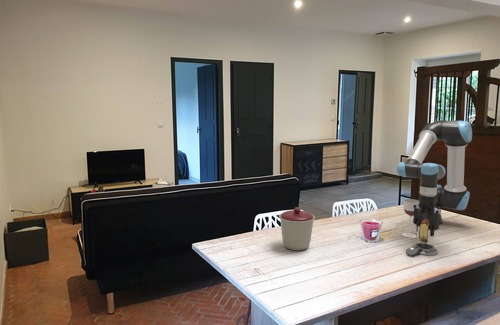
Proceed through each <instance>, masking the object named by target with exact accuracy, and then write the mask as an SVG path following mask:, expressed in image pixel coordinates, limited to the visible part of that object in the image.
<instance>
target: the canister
mask: <svg viewBox="0 0 500 325" xmlns="http://www.w3.org/2000/svg"><path fill="white" fill-rule="evenodd" d="M278 217H279V219H280V226H281V236H282V238H281V239H282V242H283V245H284V247H285V248H286V249H288V250H291V251H303V250H307V249H308V248H309V247H310V243H311V241H312V240H311V239H312V233H313V225H314V220H315V218H316V217H315V215H313V214H312V213H311V212H310V211H306V210H301V208H300V207H299V206H298V207H297V206H296V207H294V208H293V209H292V210H286V211H284V212H282V213H280V214H279V215H278Z"/></svg>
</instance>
